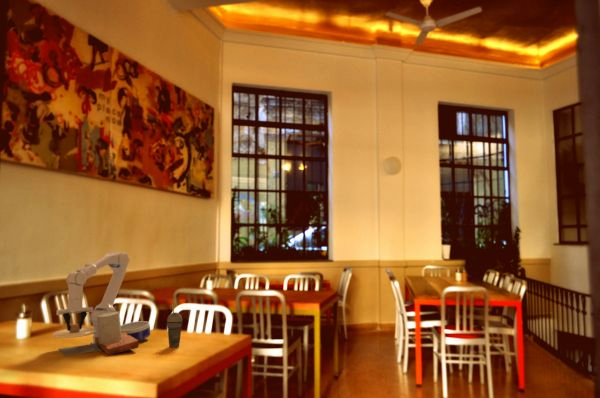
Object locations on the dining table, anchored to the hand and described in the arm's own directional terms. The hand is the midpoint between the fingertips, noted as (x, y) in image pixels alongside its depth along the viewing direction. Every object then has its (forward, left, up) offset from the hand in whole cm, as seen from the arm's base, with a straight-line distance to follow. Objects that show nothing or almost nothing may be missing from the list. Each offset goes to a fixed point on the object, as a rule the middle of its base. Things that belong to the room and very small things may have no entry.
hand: (74, 329), depth 203 cm
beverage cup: (-39, +18, -10) cm, 44 cm away
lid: (0, 0, -2) cm, 2 cm away
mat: (-2, +2, -10) cm, 10 cm away
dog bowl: (-29, -8, -9) cm, 31 cm away
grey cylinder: (-14, +6, -6) cm, 17 cm away
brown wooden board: (-17, +4, -8) cm, 19 cm away
